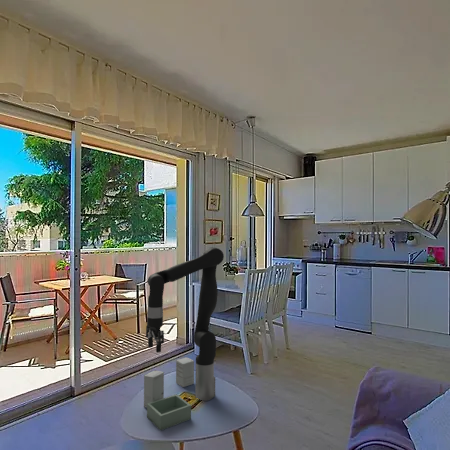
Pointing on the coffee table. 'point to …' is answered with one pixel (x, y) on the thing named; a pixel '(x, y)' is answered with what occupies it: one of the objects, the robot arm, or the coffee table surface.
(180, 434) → the coffee table surface
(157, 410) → the box
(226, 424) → the coffee table surface
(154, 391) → the skincare box
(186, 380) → the supplement box
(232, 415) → the coffee table surface
